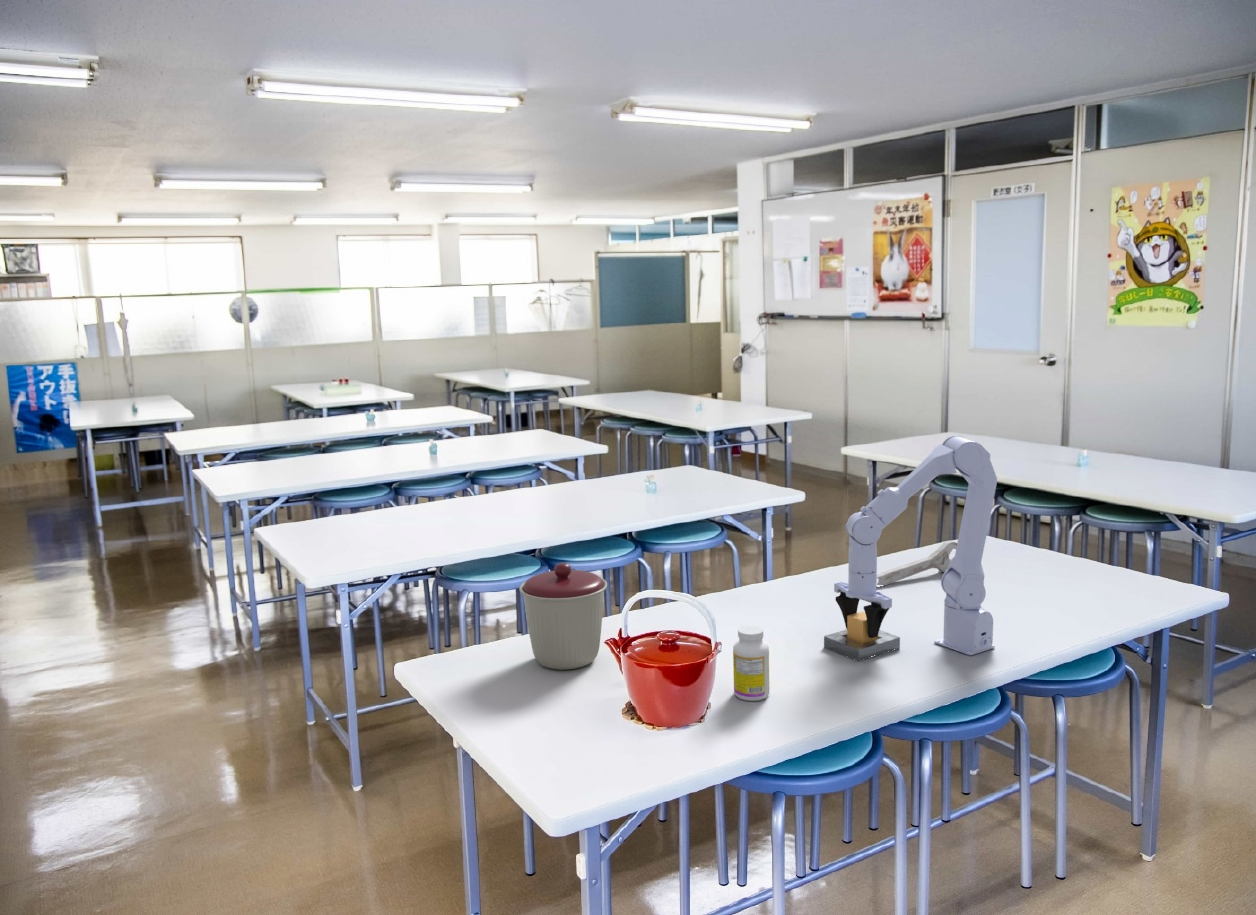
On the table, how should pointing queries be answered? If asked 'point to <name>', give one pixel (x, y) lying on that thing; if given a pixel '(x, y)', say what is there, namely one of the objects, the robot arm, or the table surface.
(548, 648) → the canister
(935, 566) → the wrench
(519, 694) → the table surface
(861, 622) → the square block
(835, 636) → the square hole plate
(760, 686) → the supplement bottle
